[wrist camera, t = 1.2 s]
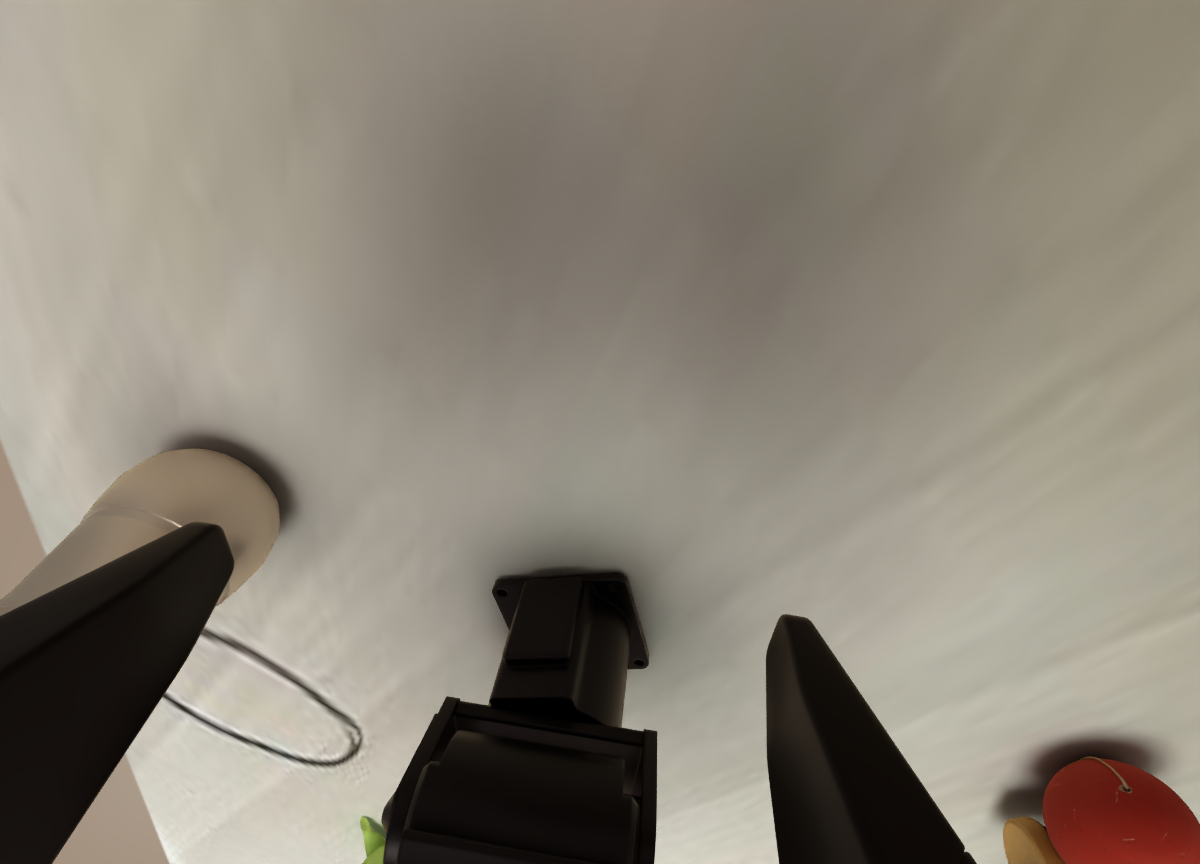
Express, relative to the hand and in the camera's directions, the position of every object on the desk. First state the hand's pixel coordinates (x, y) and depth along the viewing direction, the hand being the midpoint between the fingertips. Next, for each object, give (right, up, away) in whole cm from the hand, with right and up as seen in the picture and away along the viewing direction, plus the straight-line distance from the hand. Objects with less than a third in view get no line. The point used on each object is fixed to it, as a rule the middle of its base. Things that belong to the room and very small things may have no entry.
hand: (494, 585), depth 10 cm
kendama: (+28, -20, +25) cm, 42 cm away
